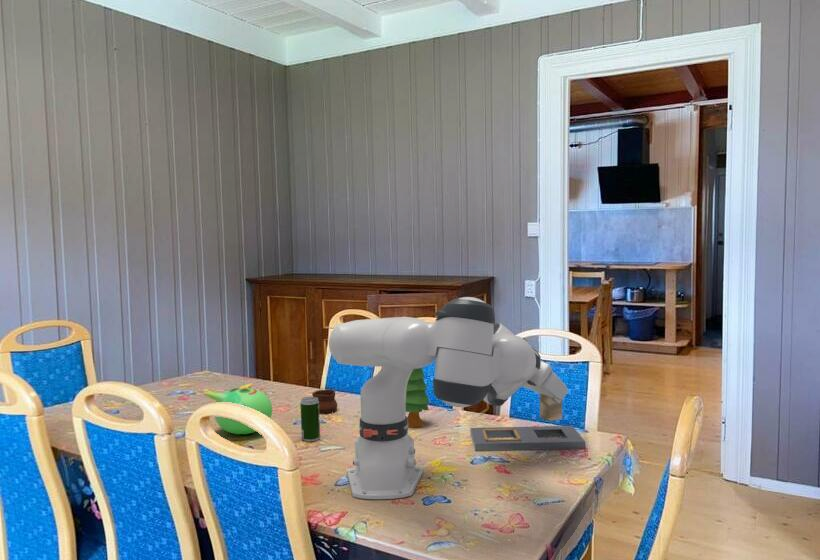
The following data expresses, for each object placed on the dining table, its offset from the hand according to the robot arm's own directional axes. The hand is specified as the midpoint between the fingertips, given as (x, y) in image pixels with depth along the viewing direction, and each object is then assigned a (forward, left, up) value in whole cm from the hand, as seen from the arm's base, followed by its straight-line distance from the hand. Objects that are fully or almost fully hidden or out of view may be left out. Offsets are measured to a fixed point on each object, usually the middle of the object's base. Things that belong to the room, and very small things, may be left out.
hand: (552, 398), depth 177 cm
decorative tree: (+18, +39, -12) cm, 44 cm away
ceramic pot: (+35, +70, -13) cm, 79 cm away
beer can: (+6, +70, -12) cm, 71 cm away
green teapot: (+13, +92, -12) cm, 94 cm away
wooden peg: (0, +1, -6) cm, 6 cm away
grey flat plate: (0, +8, -12) cm, 14 cm away
